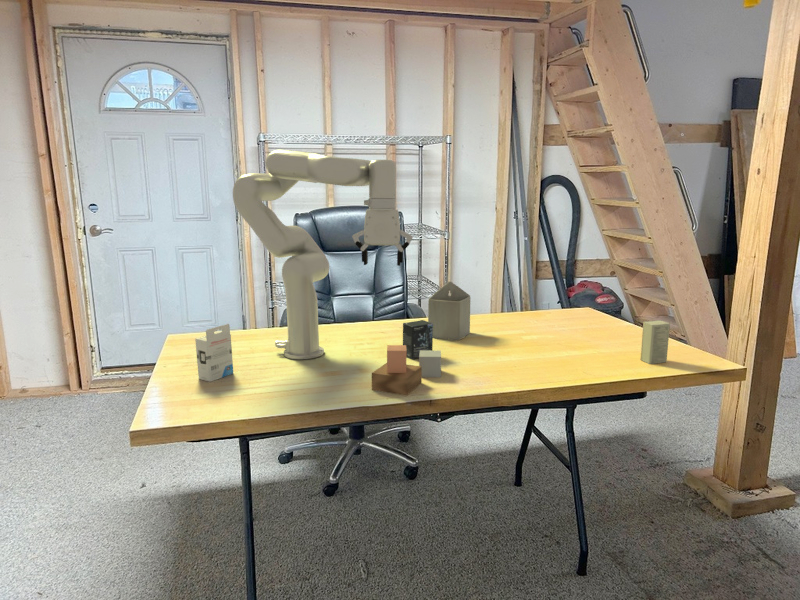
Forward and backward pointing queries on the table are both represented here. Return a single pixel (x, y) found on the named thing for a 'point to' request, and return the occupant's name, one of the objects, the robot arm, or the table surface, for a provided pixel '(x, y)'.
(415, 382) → the brown flat square block
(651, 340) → the skincare box
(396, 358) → the terracotta block
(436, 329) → the planter
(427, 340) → the box
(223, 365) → the ink box
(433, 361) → the grey block
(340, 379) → the table surface
